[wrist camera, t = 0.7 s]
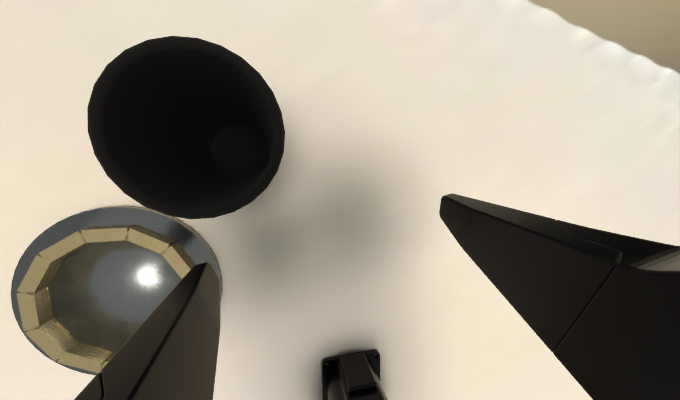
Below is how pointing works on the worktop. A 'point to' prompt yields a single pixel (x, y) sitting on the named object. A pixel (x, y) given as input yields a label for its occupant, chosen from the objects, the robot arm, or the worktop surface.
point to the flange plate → (101, 280)
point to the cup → (186, 127)
